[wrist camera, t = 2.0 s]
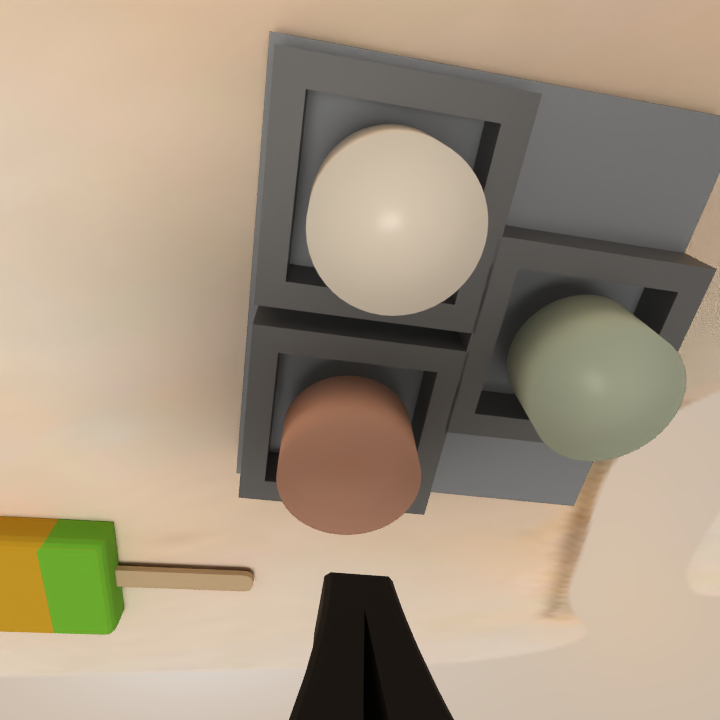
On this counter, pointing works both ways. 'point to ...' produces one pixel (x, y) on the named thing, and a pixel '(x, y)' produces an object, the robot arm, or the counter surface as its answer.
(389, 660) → the robot arm
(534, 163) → the grey compartment tray
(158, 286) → the counter surface
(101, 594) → the striped ice pop
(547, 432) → the sage button
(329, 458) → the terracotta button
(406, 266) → the cream button
